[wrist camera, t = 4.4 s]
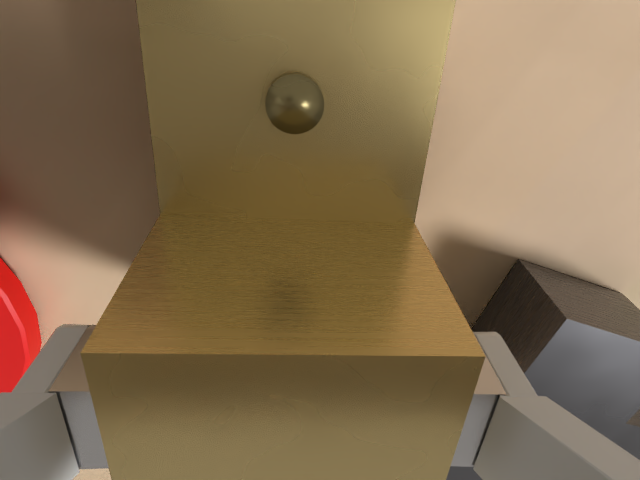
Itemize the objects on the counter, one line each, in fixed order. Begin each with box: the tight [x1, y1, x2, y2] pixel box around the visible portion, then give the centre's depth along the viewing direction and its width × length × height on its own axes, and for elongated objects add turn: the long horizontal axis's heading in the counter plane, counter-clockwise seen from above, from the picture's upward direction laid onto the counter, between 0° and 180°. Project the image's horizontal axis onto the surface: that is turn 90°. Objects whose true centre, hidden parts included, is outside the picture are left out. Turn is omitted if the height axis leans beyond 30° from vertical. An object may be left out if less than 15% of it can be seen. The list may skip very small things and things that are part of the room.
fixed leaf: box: [446, 259, 640, 480], centre depth 15 cm, size 15×10×3 cm
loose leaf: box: [81, 0, 486, 480], centre depth 8 cm, size 5×8×5 cm, turn 176°
